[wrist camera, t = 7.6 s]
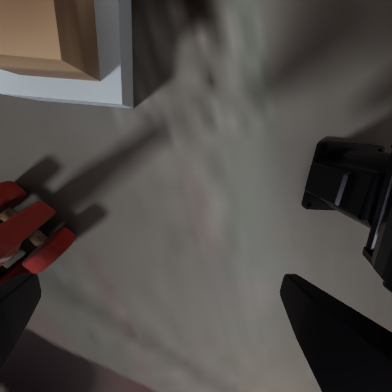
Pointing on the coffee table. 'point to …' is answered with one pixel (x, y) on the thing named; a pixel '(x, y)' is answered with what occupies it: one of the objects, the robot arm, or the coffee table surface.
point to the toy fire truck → (27, 234)
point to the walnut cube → (49, 38)
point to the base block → (108, 66)
